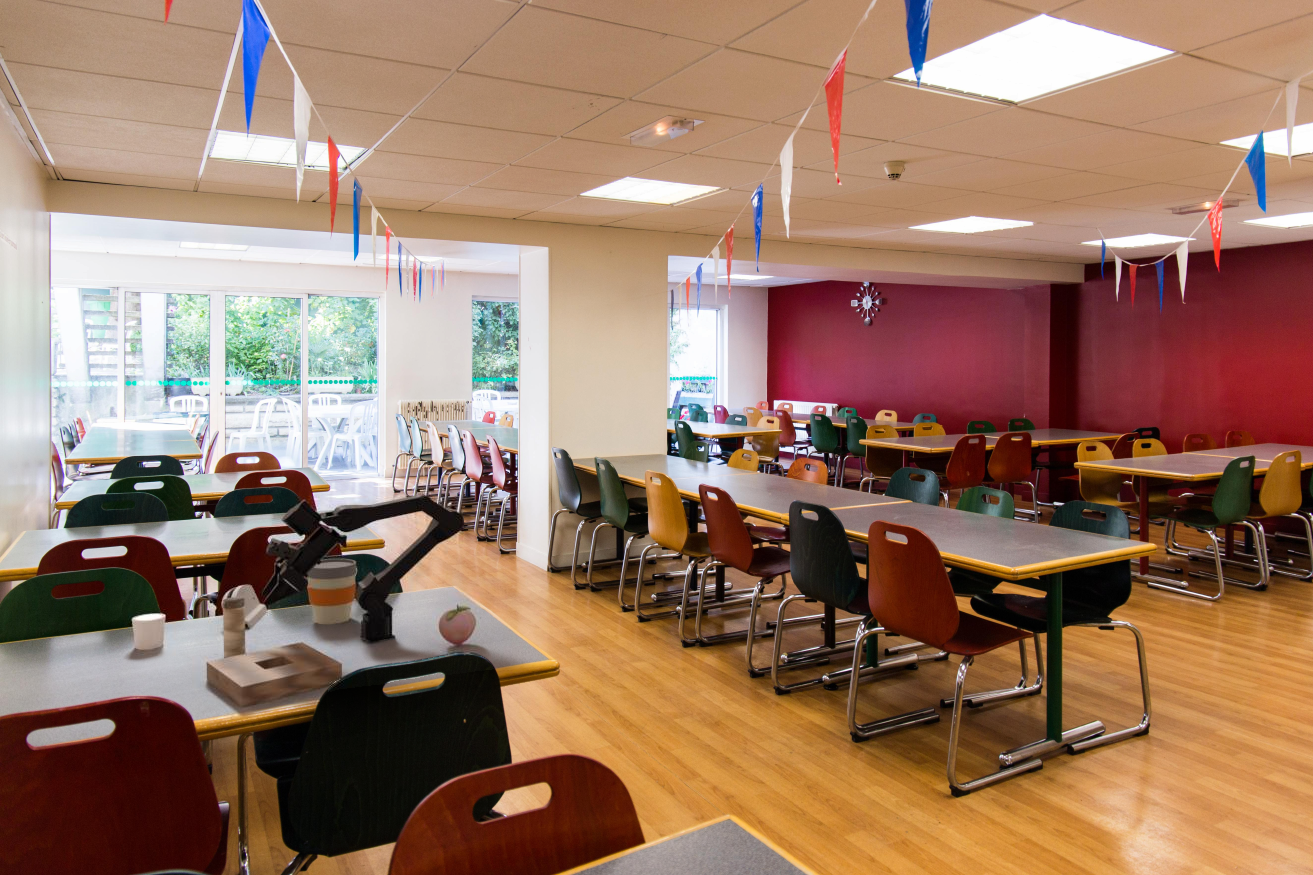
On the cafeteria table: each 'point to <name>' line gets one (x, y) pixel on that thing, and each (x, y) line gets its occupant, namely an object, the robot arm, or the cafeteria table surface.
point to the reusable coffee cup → (332, 590)
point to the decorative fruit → (457, 625)
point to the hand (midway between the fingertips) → (263, 599)
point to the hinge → (248, 603)
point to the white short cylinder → (148, 630)
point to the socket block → (273, 673)
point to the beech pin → (234, 626)
